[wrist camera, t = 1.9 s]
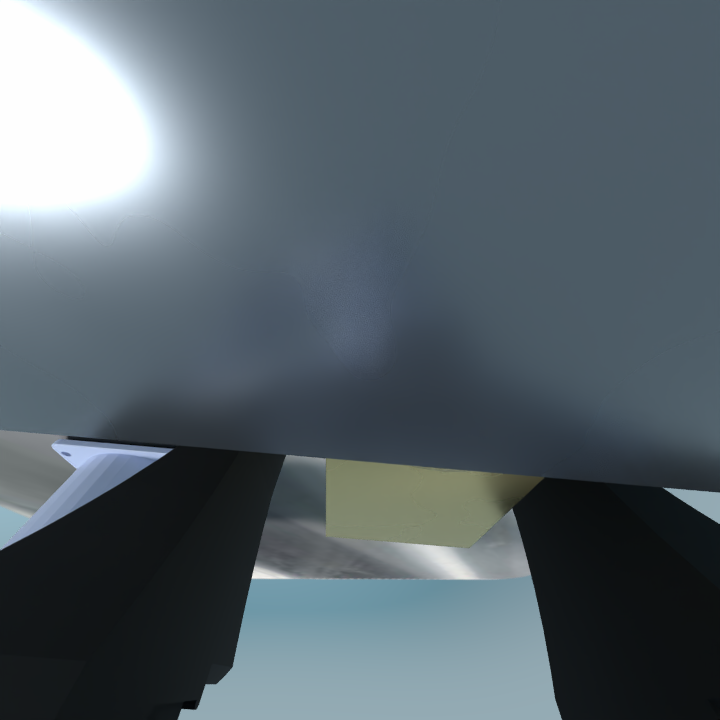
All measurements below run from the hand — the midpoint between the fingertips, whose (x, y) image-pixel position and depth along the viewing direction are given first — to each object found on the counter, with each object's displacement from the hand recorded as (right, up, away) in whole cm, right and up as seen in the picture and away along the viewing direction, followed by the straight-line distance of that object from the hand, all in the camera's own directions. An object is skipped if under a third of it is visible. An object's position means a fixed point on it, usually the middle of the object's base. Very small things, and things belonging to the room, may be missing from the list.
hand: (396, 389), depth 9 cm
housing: (+1, +7, -4) cm, 8 cm away
